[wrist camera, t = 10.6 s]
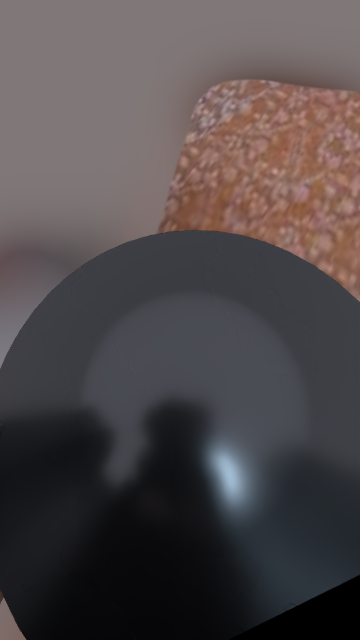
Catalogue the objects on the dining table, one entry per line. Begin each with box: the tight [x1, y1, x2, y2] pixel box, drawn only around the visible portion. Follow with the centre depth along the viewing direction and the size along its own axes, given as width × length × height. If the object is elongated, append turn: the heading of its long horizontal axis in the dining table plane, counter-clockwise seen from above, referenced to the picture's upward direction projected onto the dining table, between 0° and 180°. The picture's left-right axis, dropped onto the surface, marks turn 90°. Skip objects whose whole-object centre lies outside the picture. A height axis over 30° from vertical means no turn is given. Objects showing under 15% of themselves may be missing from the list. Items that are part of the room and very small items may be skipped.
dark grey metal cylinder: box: [0, 230, 360, 640], centre depth 10 cm, size 7×7×14 cm
